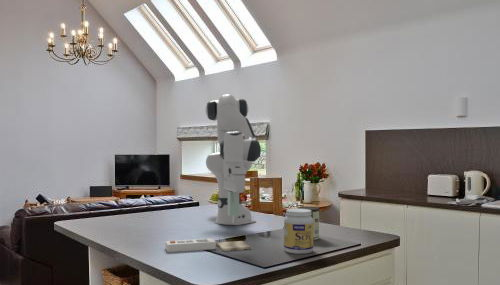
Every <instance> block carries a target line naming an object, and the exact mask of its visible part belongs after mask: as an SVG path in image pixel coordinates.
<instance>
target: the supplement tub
mask: <svg viewBox="0 0 500 285" xmlns="http://www.w3.org/2000/svg"><path fill="white" fill-rule="evenodd" d="M285 213H286V214H287V216H285V217H284V219H283V227H284V229H283V249H284V251H285V252H286V253H289V254H295V255H305V254H310V253H312V252H313V250H314V240H313V222H314V221H313V218H312V217H311V215H312V214H311V210H308V209H297V208H287V209H286V212H285Z"/></svg>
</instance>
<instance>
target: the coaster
mask: <svg viewBox="0 0 500 285" xmlns="http://www.w3.org/2000/svg"><path fill="white" fill-rule="evenodd" d="M216 247H218V248H219V249H220V250H223V251H222V252H227V251H229V252H230V251H231V250H232V251H243V250H244V249H247V250H251V249H252V247H251V245H249V244H247V243H246V242H245V241H243V240H238V241H237V240H236V241H222V242H221V241H219V242H217V241H216ZM232 251H231V252H232Z"/></svg>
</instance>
